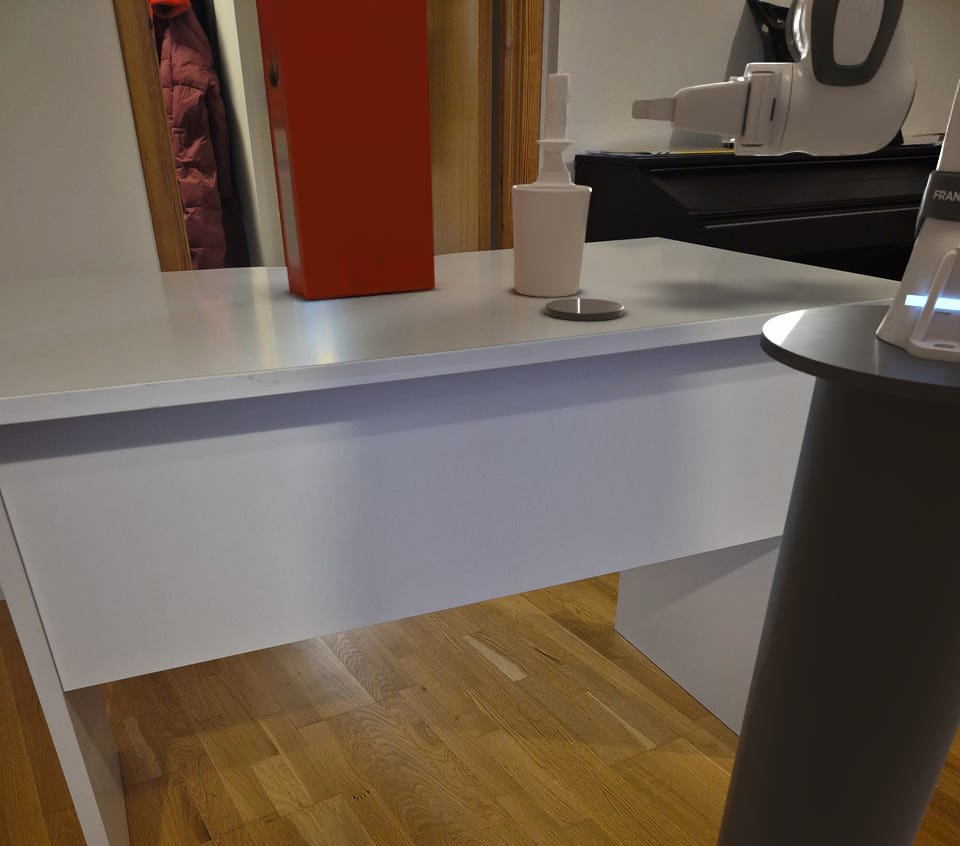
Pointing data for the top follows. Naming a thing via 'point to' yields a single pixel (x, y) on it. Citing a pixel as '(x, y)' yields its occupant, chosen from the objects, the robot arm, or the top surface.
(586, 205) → the white tapered cup
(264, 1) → the file binder
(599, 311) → the slate coaster
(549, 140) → the candle
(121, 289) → the top surface
